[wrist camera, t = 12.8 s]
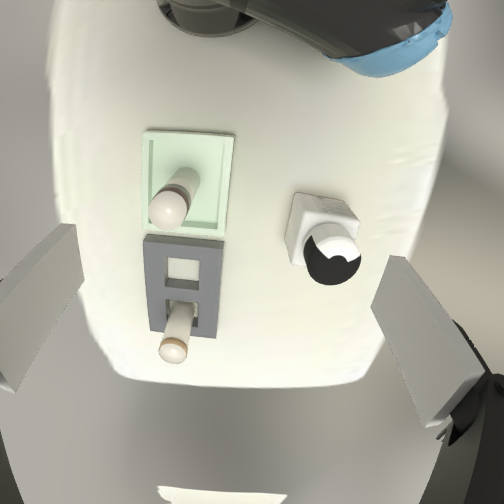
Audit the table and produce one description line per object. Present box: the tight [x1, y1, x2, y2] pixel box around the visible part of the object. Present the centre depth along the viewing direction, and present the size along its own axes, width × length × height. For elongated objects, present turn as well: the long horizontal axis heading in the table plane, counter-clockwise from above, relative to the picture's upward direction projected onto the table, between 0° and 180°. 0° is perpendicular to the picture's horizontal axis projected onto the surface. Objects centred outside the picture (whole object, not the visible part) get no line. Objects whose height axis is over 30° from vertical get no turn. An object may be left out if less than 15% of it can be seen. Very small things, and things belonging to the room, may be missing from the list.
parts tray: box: [141, 130, 235, 237], centre depth 41 cm, size 14×12×2 cm
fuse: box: [159, 300, 196, 364], centre depth 47 cm, size 4×4×12 cm
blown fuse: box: [148, 168, 200, 230], centre depth 37 cm, size 4×4×12 cm
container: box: [285, 193, 361, 285], centre depth 40 cm, size 8×8×13 cm
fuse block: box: [143, 234, 224, 338], centre depth 50 cm, size 18×12×2 cm, turn 173°
